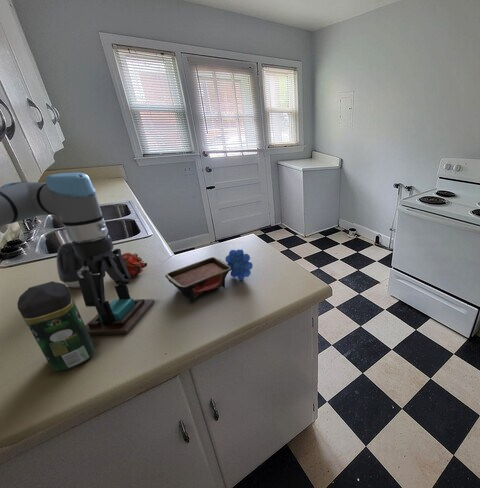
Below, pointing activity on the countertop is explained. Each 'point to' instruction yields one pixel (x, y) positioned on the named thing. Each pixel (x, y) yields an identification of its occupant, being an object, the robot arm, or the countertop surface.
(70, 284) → the black rounded piece
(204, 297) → the countertop surface
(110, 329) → the back plate
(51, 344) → the coffee jar
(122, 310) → the pad
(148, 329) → the countertop surface
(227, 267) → the rectangular planter
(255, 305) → the countertop surface
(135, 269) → the dragon fruit
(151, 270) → the countertop surface
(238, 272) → the blue lumpy round piece
